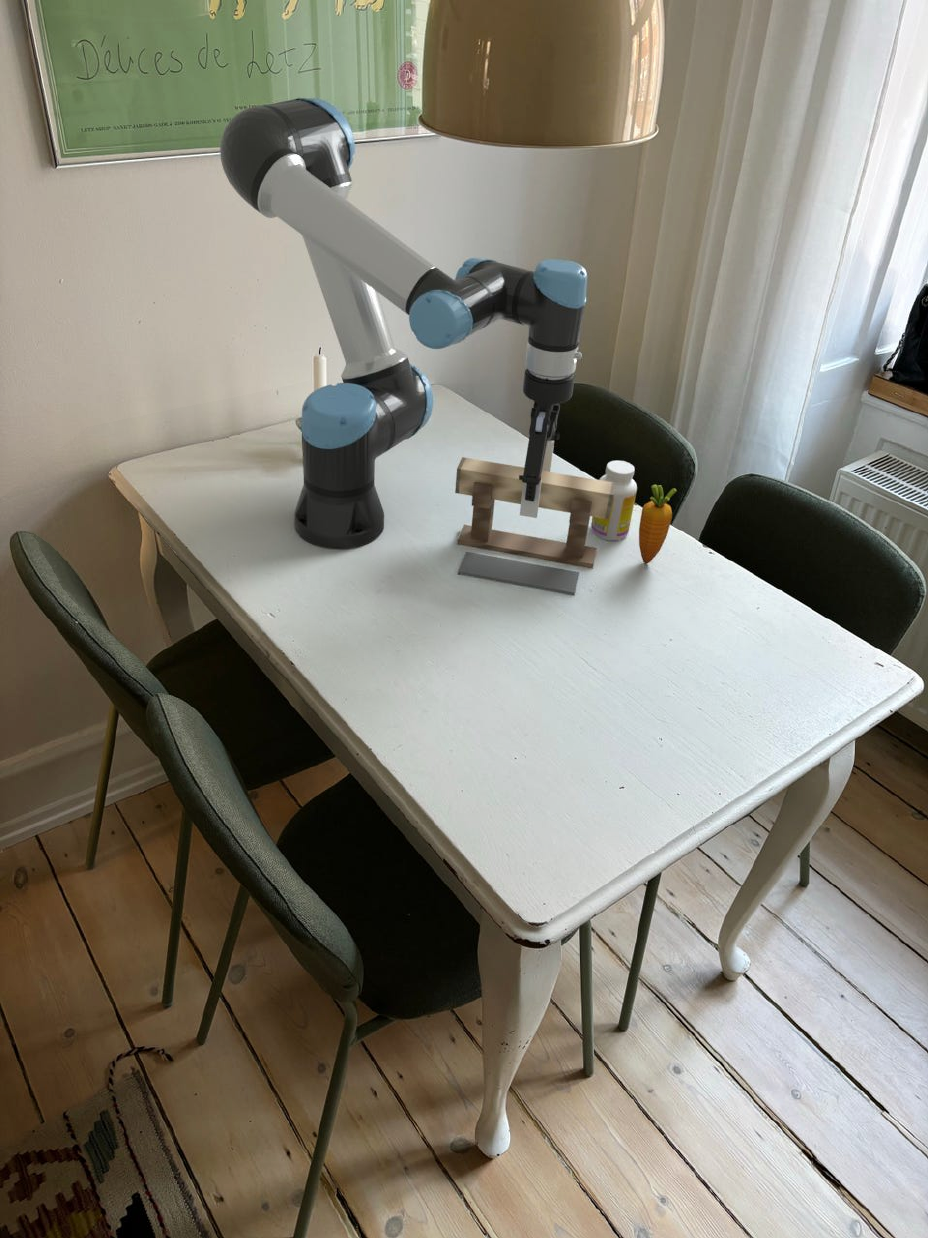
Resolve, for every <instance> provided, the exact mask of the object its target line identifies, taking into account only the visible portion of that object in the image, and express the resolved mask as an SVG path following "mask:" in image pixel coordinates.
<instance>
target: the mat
mask: <svg viewBox="0 0 928 1238" xmlns="http://www.w3.org/2000/svg"><path fill="white" fill-rule="evenodd" d="M457 575H460V576H464V577H465V576H466V577H471V578H474V579H475V578H477V579H481V580H487V581H492V582H497V583H503V584H507V585H508V584H509V585H515V586H520V587H524V588H525V587H526V588H530V589H531V588H532V589H534V590H535V589H536V590H540V591H541V590H542V591H546V592H552V593H557V594H558V593H559V594H563V595H570V596H575V593H576V590H577V585H578V581H579V576H580V571H575V570H571V569H565V568H559V567H553V566H548V565H544V564H543V565H542V564H537V563H532V562H527V561H526V562H525V561H519V560H515V559H509V558H504V557H498V556H492V555H487V554H481V553H477V552H471V551H470V552H469V551H465V553H464V555H463V558H462V560H461V562H460V565H459V568H458V571H457Z"/></svg>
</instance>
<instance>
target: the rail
mask: <svg viewBox="0 0 928 1238" xmlns="http://www.w3.org/2000/svg"><path fill="white" fill-rule="evenodd" d="M524 467H525V466H516V465H512V464H511V465H510V464H505V463H500V462H499V463H498V462H492V461H486V460H482V459H481V460H480V459H475V458H471V457H470V458H469V457H464V456H463V457H462V458H461V460H460V461H459V463H458V466H457V467H456V475H455V478H456V479H455V490H454V492H455V494H460V495H464V496H469V497H470V496H471V497H472V494H473V484H474V482H479V483H485V484H491V485H493V487H492V497H491V499H493V500H495V501H499V502H500V501H501V502H506V503H513V504H518V505H521V498H522V489H523V482H522V480H519V475H523V473H524ZM541 479H542V482H541V490H540V498H539V506H538V508H540V509H548V510H552V511H558V512H564V513H570V514H571V508H572V501H573V499H579V500H585V501H591V502H592V505H591V510H590V517H598V518H603V519H609V516H610V511H611V506H612V500H613V495H614V490H615V484H616V483H613V482H607V481H601V480H600V479H594V478H589V477H583V476H576V475H571V474H565V473H564V474H563V473H559V472H553V471H550V472H548V471H542V473H541Z"/></svg>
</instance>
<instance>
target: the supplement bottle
mask: <svg viewBox="0 0 928 1238" xmlns="http://www.w3.org/2000/svg"><path fill="white" fill-rule="evenodd" d="M634 475H635V466H634V465H633V464H631V463H630V462H627V461H625V460H611V461H609V462H608V463H607V464H606V467H605V474H604V475H602V476H601V477H600V478H599V480H601V481H607V482H613V483H616V484H615V490H614V495H613V500H612V506H611V511H610V516H609V519H603V518H598V517H592V516H591V517H592V518H591V524H590V529H591V531H592V534H594V535H595V536H596V537H598V538H600V539H602V540H605V541H612V542H613V541H614V542H615V541H620V540H623V539H625V538H626V537H627V536H628V535H629V532H630V528H631V527H630V526H631V521H632V516H633V511H634V505H635V502H636V496H637V491H638V486H637V485H638V484H637V482H636V481H635V480H634V479H633V477H634Z"/></svg>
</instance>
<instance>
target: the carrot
mask: <svg viewBox="0 0 928 1238" xmlns="http://www.w3.org/2000/svg"><path fill="white" fill-rule="evenodd" d="M651 491H652V494H653V496H651V497H650V498H649V500H651V501H648V502H646V503H644V505H642V509H641V515H640V521H639V528H638V547H639V553H640V557H641V560H642V562H643V563H644V565H645V564H647V565H648V564H649V563H650V562H652V560H654V558H656V556H657V555H658V554H659V552H660V551H661V549H662V547H663V545H664V543H665V541H666V538H667V535H668V532H669V529H670V526H671V522H672V518H673V512H672V511H673V510H672V507H671V505H670V504H668V503H667V502H669V501H670V499H671V498H672V497H673V496H674V494H676V493H677V491H678V490H677V489H676V488H672V489H670V491H668V493H667V494H666V495H665V497H664V489H663V487H662V485H657V484H653V485H651Z"/></svg>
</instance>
